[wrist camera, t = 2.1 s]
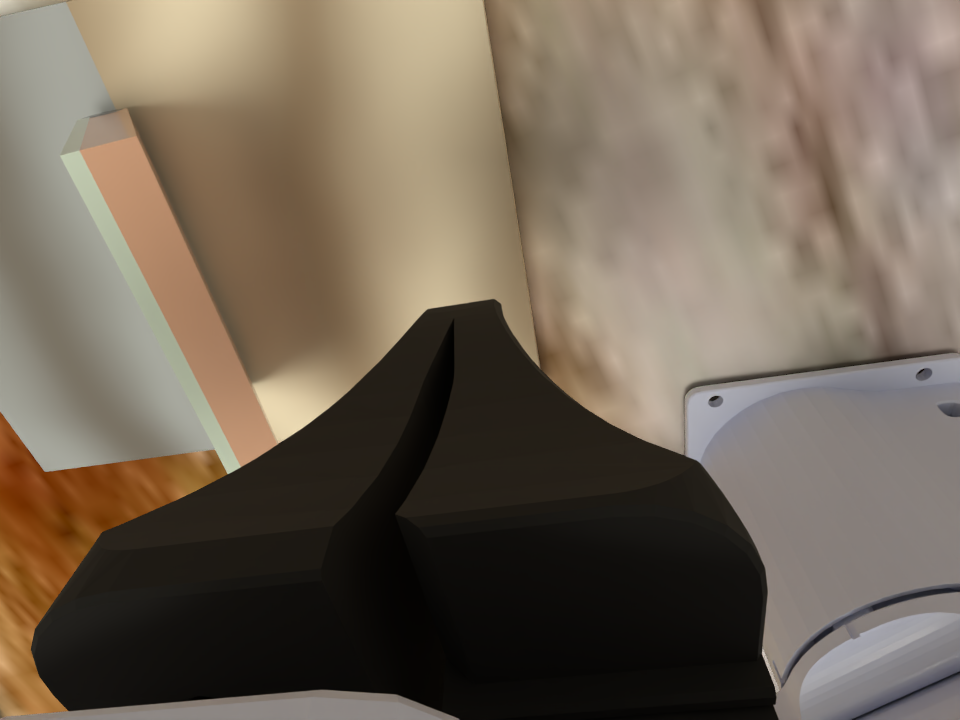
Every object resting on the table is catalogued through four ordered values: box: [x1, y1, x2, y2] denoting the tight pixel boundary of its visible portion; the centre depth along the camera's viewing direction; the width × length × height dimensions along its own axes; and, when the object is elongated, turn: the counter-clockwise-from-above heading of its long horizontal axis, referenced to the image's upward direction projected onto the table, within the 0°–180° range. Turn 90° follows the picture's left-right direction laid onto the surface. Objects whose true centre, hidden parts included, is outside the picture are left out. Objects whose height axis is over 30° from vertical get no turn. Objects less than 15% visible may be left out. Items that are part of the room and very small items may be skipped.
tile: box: [60, 108, 279, 474], centre depth 16 cm, size 8×9×1 cm
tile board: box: [0, 0, 541, 472], centre depth 19 cm, size 19×14×2 cm
